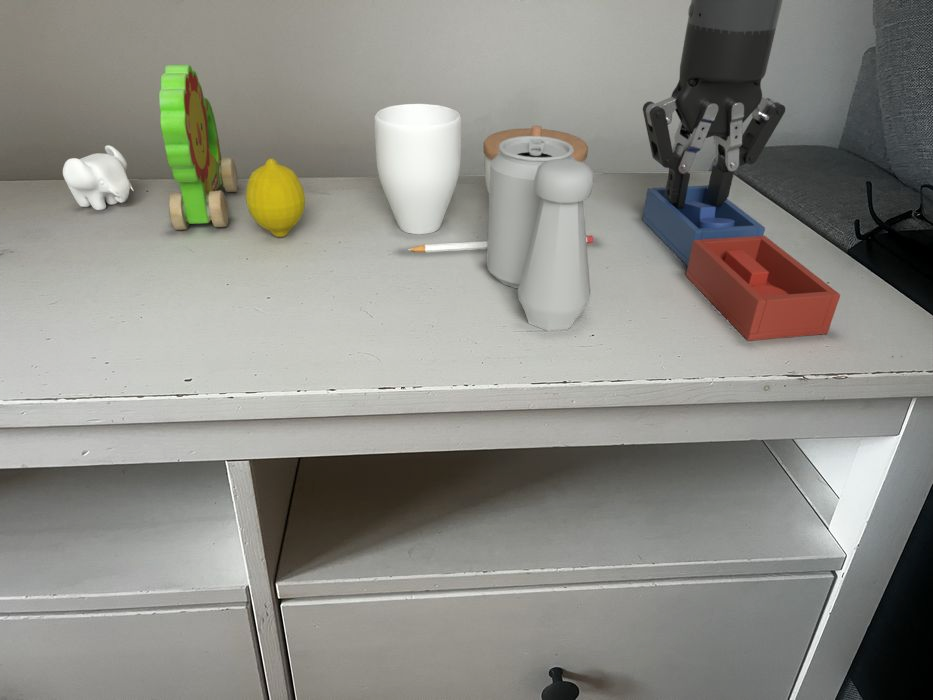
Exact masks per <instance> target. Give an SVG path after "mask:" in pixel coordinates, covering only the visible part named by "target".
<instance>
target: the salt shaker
mask: <svg viewBox="0 0 933 700" xmlns="http://www.w3.org/2000/svg"><path fill="white" fill-rule="evenodd" d="M594 181H595V179H594V171H593V170H592V169H591V168H590V167H589V166H588V165H587V164H586V162H585V163H582V162H579V161H575V160H569V159H554V160H548V161H546V162H544V163H542V164H541V165H540V166H539V167H538V169H537V172H536V176H535V184H534V188H535V192H536V194H537V195H538V196H539V197H541V202H540V206H539V210H538V214H537V218H536V222H535V226H534V230H533V234H532V238H531V242H530V246H529V250H528V254H527V258H526V262H525V266H524V270H523V274H522V277H521V281H520V285H519V288H517V299H518V301H519V302H520V305H521V306H522V308H523V311H524V314H525V316H526V319H527V322H528V324H529V325H531V326H534V327H536V328H539V329H541V330H544V331H546V332H552V331H554V332H555V331H563V330H570V328H571V327H572V326H573V324H574V323H575V321H576V320H577V318H579V316H580V315H581V314H582V313H583V312H584V310H585V309H586V308H587V306H588V304H589V301H590V296H591V283H590V270H589V258H588V245H587V244H588V243H586V236H587V233H586V220H585V219H586V218H585V207H584V206H585V205H584V201H585V200H587V199H589V198H590V197H591V194H592V191H593V186H594Z"/></svg>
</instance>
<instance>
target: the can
mask: <svg viewBox="0 0 933 700" xmlns="http://www.w3.org/2000/svg"><path fill="white" fill-rule="evenodd" d="M499 150H500V152H499V153H498V154H497V155H496V156H495V157H494V158H493V160H492V161H491V164H490V191H489V192H488V217H487V218H488V219H487V220H488V222H487V225H488V226H487V241H488V244H487V249H486V268H487V270H488V271H489V273H490V274H491V275H492V276H494V278H496V280H498V281H499V282H500V283H501V284H503V285H505V286H508V287H511V288H513V289H518V288H519V285H520V281H521V277H522V274H523V270H524V266H525V262H526V258H527V254H528V250H529V246H530V242H531V238H532V234H533V230H534V226H535V222H536V218H537V214H538V210H539V206H540V202H541V197H539V196H538V195H537V194H536V192H535V188H534V184H535V176H536V172H537V169H538V167H539V166H540V165H541V164H542V163H544V162H546V161H548V160H554V159H569V160H575V159H574V157H573V156H572V154H573V152H574V149H573V147H572V146H571V145H570V144H569V143H567V142H565V141H562V140H560V139H555V138H551V137H543V136H520V137H514V138H509V139H507V140H504V141H502V142H501V143H500V144H499ZM575 161H576V160H575Z"/></svg>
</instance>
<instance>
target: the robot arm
mask: <svg viewBox="0 0 933 700" xmlns="http://www.w3.org/2000/svg"><path fill="white" fill-rule="evenodd" d="M782 5H783V0H690V5H689V8H688V10H687V11H688V13H687V15H688V16H687V17H688V18H687V24H686V29H685V35H684V39H683V40H684V41H683V47H682V53H681V58H680V64H679V79H678V82H677V84H676V86H675V88H674V89H673V91H672V93H671V96H670V97H668V98H665V99H662V100H661V101H658V102H656V103H655V102H653V101H646V102H645V103H644V104H643V106H642V114H643V118H644V123H645V128H646V132H647V138H648V142H649V148H650V152H651V156H652V159H653V160H655V162H657V163H658V164H660V165H661V166H662V167H663V168H665V169H668V174H667V179H666V185H665V187H666V191H665V196H666V199H667V200H668V201H669V202H670V203H671V204H672V205H673V206H674V207H675V208H676V209H683V208H684V205H685V200H686V194H687V189H688V186H689V184H690V178H691V173H690V172H689V171H690V170H691V168H692V165H693V163H694V160H695V159H696V156H697V153H698V152H700V151H701V149H702V148H703V145H704V143H705V140H706V139H708V138H711V137H713V141H714V142H715V162H716V164H713V165H712V167H711V172H710V177H709V182H708V185H709V186H708V190H707V195H706V200H707V202H708V203H709V204H710V205H712V206H714V207H721V206H722V204H723V201H726V199H728V197H729V196H730V192H731V191H730V190H731V187H732V183H733V178H734V175H735V174H734V173H735V171H737V169H739V167H741V166H743V165H746V164H747V165H754V164H755V163H756V162H757V160H758V159H759V157H760V156H761V153H762V152H763V150H764V148H765V147H766V145H767V143H768V142H769V140H770V138H771V136H772V135H773V133H774V132H775V130H776V128H777V126H778V125H779V124H780V122H781V120H782V118H783V117H784V115H785V112H786V106H785V105H784V104H781V103H780V102H779V101H777V100H774V99H771V98H769V97H767V98H765V97H763V91H762V85H761V84H762V79H764V77H765V76H766V73H767V69H768V65H769V60H770V56H771V53H772V52H771V51H772V47H773V43H774V38H775V35H776V30H777V25H778V23H779V17H780V13H781V9H782ZM674 112H676V115H677V116H678V119H679V121H680V122H679V123H678V126H677V129H676V132H675V135H674V144H673V146H672V140H671V135H670V130H669V126H668V125H670V124H671V123H672V120H673V113H674ZM750 116H751V117H752V118H751V120H750V121H749V123H748V124H747V126H746V128H745V130H744V132H743V126H744V125H743V124H744V123H745V122H746V120H748V118H749V117H750Z"/></svg>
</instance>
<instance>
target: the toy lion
mask: <svg viewBox="0 0 933 700" xmlns="http://www.w3.org/2000/svg"><path fill="white" fill-rule="evenodd" d="M158 103H159V111H160V119H159V122H160V130H161V135H162V139H163V143H164V149H165V157H166V161H167V163H168V165H169V168H170V169H171V172H172V176H173V179H174V181H175V182H176V183H179V188H180V192H174V193H170V195H169V198H168V199H169V200H168V211H169V212H168V213H169V218H170V221H171V224H172V228H173V229H175V230H176V231H178V230H180V231H182V230H188V229H189V228H190V224H192V225H193V224H194V225H195V224H196V225H199V224H209V223H210V222H212V225H213V227H214V228H226V227H228V225H229V208H228V203H227V199H226V196H225V194H224V192H223V190H221V188H222V187H223V189H224V190H225V192H226V193H237V191H238V187H239V178H238V177H239V176H238V171H237V167H236V163H235V161H234V159H233V158H232V157H222V152H221V147H220V140H219V133H218V129H217V128H218V127H217V123H216V118H215V115H214V111H213V108H212V107H213V106H212V105H211V103H210V101H209V99H208V98H206V97H205V96H204V92H203V88H202V85H201V83H200V81H199V76H198V74H197V72H196V70H193V68H192V66H191V65H190V64H167V65H165V67H164V73H162V74H161V77H160V90H159V92H158ZM217 189H220V190H217Z"/></svg>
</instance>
